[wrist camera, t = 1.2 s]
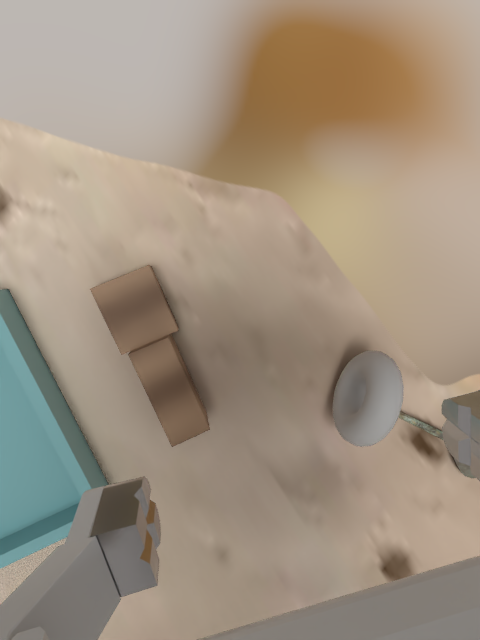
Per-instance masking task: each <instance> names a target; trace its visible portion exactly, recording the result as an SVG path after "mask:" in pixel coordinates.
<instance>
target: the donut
mask: <svg viewBox="0 0 480 640" xmlns="http://www.w3.org/2000/svg"><path fill="white" fill-rule="evenodd" d="M403 388H404V387H403V381H402V376H401V372H400V370H399V368H398V366H397V365H396V363H395V361H394V360H393V359H392V358H390V357H389V356H387V355H386V354H384V353H383V352H380V351H365V352H362V353H360V354H358V355H356V356H355V357H354V358H353V359H352V360H351V361H349V362H348V363H347V365H346V367H345V368H344V370H343V371H342V373H341V375H340V377H339V380H338V382H337V385H336V388H335V392H334V398H333V418H334V422H335V426H336V428H337V430H338V432H339V433H340V435H341V436H342V438H343V439H344V440H346V441H348V442H349V443H351V444H353V445H355V446H361V447H362V446H371V445H374V444H376V443H377V442H379V441H381V440H382V439H384V438H385V437H386V436H387V434H388V433H389V432H390V431H391V429H392V428H393V427H394V425H395V423H396V421H397V419H398V417H399V414H400V410H401V406H402V402H403Z"/></svg>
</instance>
